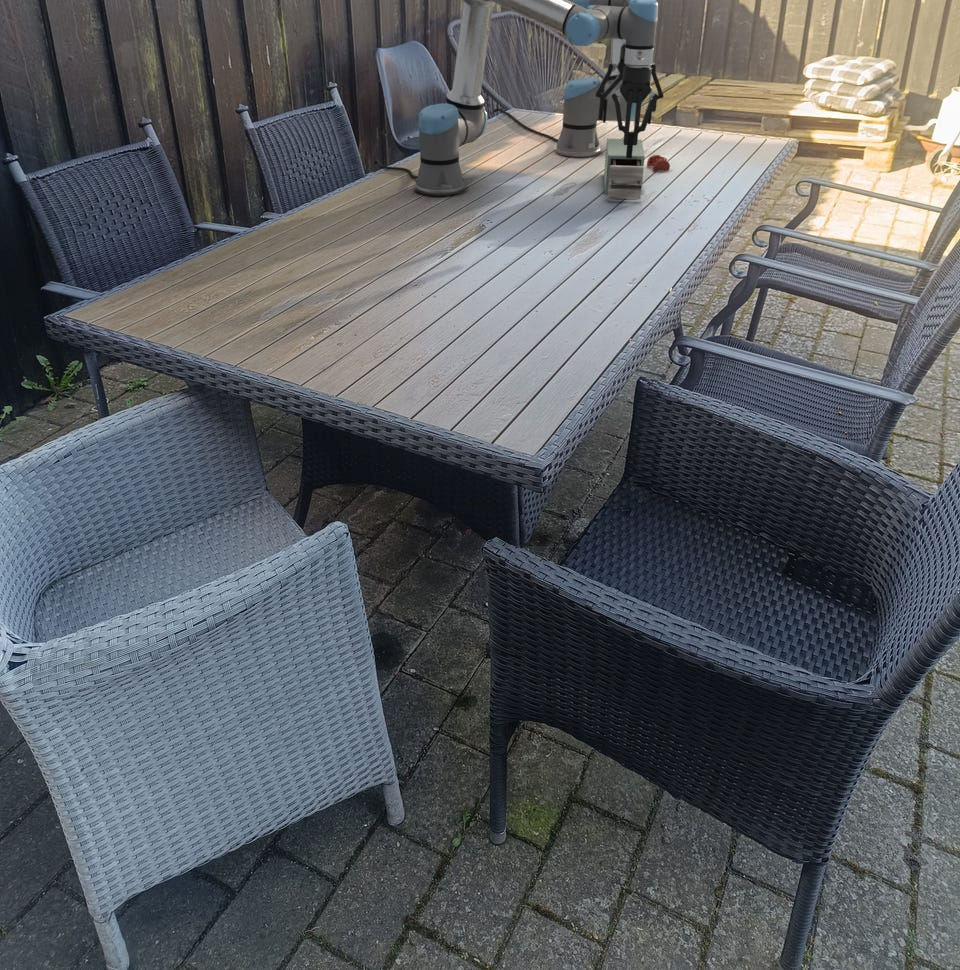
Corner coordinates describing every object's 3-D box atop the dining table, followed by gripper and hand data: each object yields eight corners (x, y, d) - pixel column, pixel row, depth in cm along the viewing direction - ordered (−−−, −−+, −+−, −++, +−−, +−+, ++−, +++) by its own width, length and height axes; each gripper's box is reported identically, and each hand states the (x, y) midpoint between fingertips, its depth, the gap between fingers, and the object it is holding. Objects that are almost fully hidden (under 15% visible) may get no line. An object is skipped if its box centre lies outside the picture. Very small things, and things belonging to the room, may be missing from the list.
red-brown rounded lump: (661, 151, 278) (672, 157, 272) (660, 164, 281) (670, 171, 275) (646, 153, 277) (656, 159, 271) (645, 166, 280) (654, 173, 274)
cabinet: (640, 194, 255) (644, 156, 248) (604, 193, 256) (608, 155, 249) (637, 175, 271) (641, 139, 264) (604, 174, 272) (607, 138, 265)
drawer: (641, 204, 243) (644, 172, 238) (607, 203, 244) (610, 171, 239) (637, 181, 263) (640, 150, 257) (606, 180, 263) (609, 149, 258)
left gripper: (613, 67, 223) (606, 159, 236) (663, 68, 222) (652, 161, 235) (613, 62, 229) (605, 153, 242) (661, 63, 228) (651, 154, 241)
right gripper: (591, 46, 243) (585, 124, 256) (678, 47, 241) (668, 126, 253) (590, 42, 249) (585, 118, 262) (676, 43, 247) (666, 120, 260)
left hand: (628, 156), depth 239 cm, fingers closed
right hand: (626, 122), depth 258 cm, fingers open, 13 cm apart
